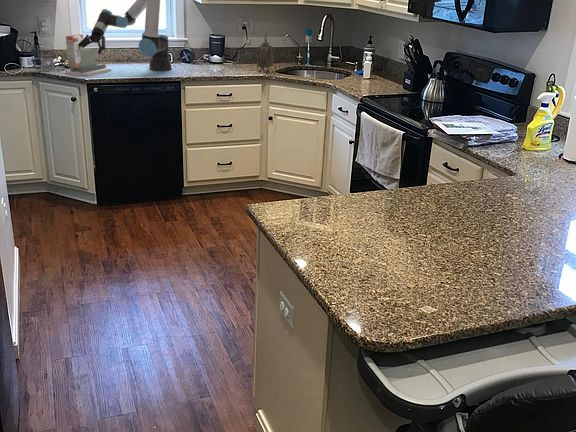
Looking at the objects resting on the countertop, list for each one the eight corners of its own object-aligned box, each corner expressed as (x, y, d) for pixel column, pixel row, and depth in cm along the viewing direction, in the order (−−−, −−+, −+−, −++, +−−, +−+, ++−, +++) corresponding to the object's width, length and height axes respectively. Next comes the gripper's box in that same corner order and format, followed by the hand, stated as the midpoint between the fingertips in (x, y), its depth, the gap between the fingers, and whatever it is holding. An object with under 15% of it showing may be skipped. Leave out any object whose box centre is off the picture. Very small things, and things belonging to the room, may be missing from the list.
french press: (39, 69, 410) (34, 30, 401) (57, 68, 416) (53, 29, 406) (41, 71, 402) (37, 31, 393) (60, 71, 408) (56, 31, 398)
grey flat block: (111, 71, 416) (110, 64, 415) (88, 76, 396) (87, 69, 394) (89, 68, 422) (88, 62, 421) (65, 73, 401) (64, 66, 400)
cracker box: (76, 68, 420) (73, 36, 412) (67, 67, 421) (64, 35, 413) (85, 65, 433) (83, 34, 425) (77, 64, 434) (74, 33, 426)
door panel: (95, 69, 412) (94, 48, 407) (86, 71, 404) (85, 50, 399) (90, 68, 413) (88, 48, 408) (81, 70, 405) (80, 49, 400)
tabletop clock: (261, 69, 447) (262, 33, 438) (273, 70, 446) (274, 34, 437) (256, 72, 434) (257, 35, 425) (269, 73, 433) (270, 36, 423)
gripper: (117, 35, 412) (105, 61, 405) (86, 33, 420) (74, 58, 413) (112, 27, 406) (100, 54, 398) (80, 25, 414) (68, 51, 406)
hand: (86, 56), depth 406 cm, fingers open, 13 cm apart
